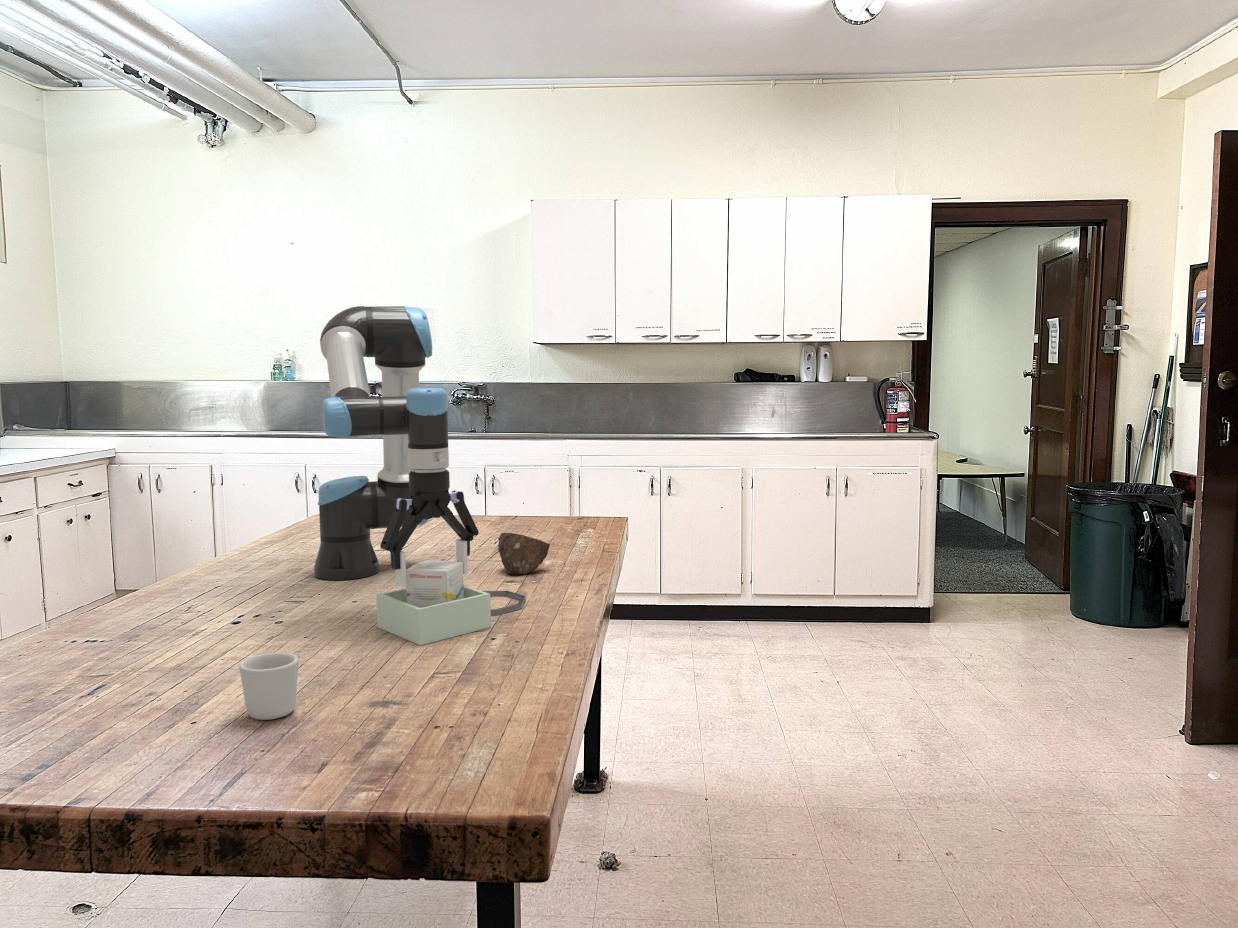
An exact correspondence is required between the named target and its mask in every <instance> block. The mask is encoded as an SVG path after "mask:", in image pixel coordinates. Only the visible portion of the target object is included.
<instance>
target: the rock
mask: <svg viewBox="0 0 1238 928" xmlns="http://www.w3.org/2000/svg"><path fill="white" fill-rule="evenodd" d="M550 545H551V544H550V543H548V542H545V541H543V540H540V539H538V538H534V537H531V536H527V535H524V534H519V533H514V532H501V533H500V535H499V537H498V547H497V550H498V553H499V556H500V559H501V563H502V565H503V568H504V570H505V572H506V573H508V574H509V575H514V576H520V575H525V574H529V573H531V572H533V571H535V570H536V569H538V568H539V566H540V565H542V564H543V561H544V560H545V559H546V558H547V555H548V554H549V549H550Z"/></svg>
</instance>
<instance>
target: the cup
mask: <svg viewBox="0 0 1238 928" xmlns="http://www.w3.org/2000/svg"><path fill="white" fill-rule="evenodd" d="M238 667H239V673H240V680H241V684H242V685H241V686H242V692H243V697H244V704H245V708H246V712H247V713H248V715H249V716H250V717H251V718H253V719H255V720H258V721H268V720H275V719H280V718H283V717H285V716H287V715H289V714H291V713H292V712H293V710H294V709H295V706H296V703H297V692H298V690H297V689H298V672H299V657H298V656H297V655H295V654H293V653H289V652H268V653H263V654H262V653H261V654H257V655H253V656H250V657H248V658H246V659H244V660H242V662H241V663H239V666H238Z"/></svg>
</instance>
